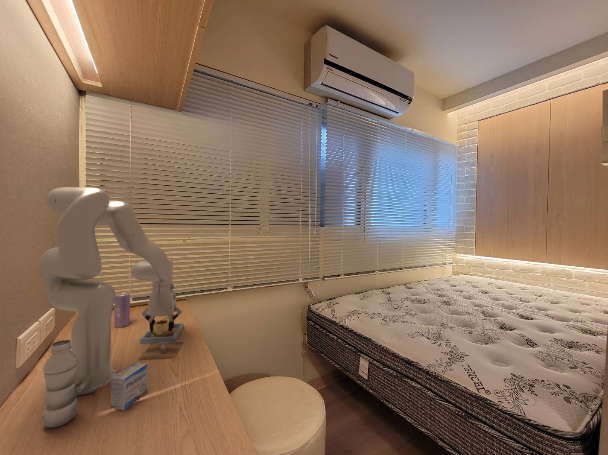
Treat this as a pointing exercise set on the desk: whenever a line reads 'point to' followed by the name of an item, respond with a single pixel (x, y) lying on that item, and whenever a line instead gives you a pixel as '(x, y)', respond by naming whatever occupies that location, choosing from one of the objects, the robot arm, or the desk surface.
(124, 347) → the desk surface
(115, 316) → the beverage can
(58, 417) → the plastic bottle
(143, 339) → the tray
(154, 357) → the board
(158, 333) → the ring
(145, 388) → the medicine box
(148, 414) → the desk surface
